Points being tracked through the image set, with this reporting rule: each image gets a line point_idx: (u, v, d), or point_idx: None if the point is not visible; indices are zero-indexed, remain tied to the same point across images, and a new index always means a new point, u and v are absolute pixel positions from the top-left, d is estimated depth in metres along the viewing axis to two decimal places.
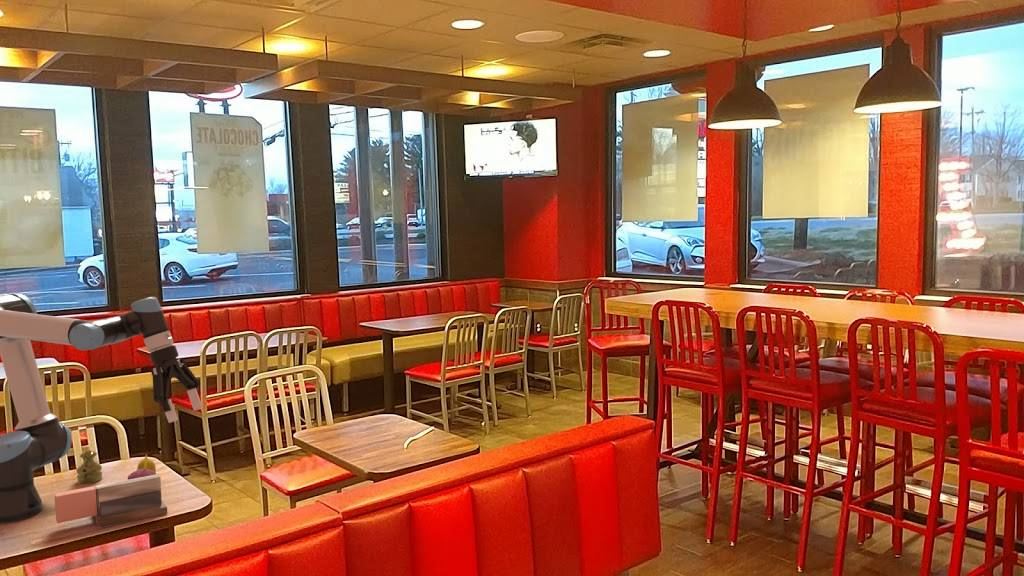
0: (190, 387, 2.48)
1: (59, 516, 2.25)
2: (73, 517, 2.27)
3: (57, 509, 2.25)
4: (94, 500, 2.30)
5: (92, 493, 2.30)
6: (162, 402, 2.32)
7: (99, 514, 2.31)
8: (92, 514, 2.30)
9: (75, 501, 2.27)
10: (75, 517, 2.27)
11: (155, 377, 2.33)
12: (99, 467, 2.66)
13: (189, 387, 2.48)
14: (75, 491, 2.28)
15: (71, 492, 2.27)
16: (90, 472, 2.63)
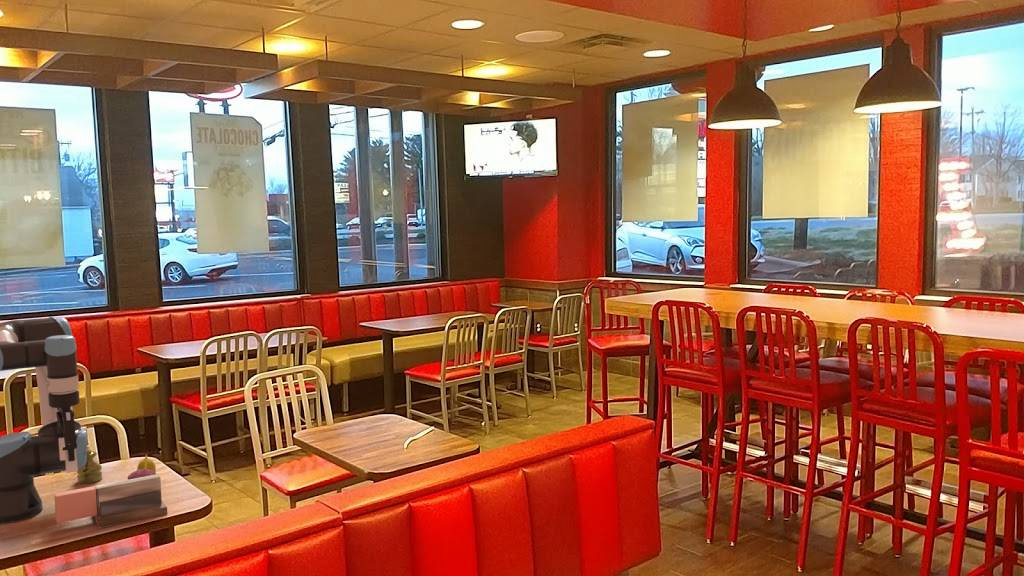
0: None
1: (59, 516, 2.25)
2: (73, 517, 2.27)
3: (57, 509, 2.25)
4: (94, 500, 2.30)
5: (92, 493, 2.30)
6: None
7: (99, 514, 2.31)
8: (92, 514, 2.30)
9: (75, 501, 2.27)
10: (75, 517, 2.27)
11: None
12: (99, 467, 2.66)
13: None
14: (75, 491, 2.28)
15: (71, 492, 2.27)
16: (90, 472, 2.63)
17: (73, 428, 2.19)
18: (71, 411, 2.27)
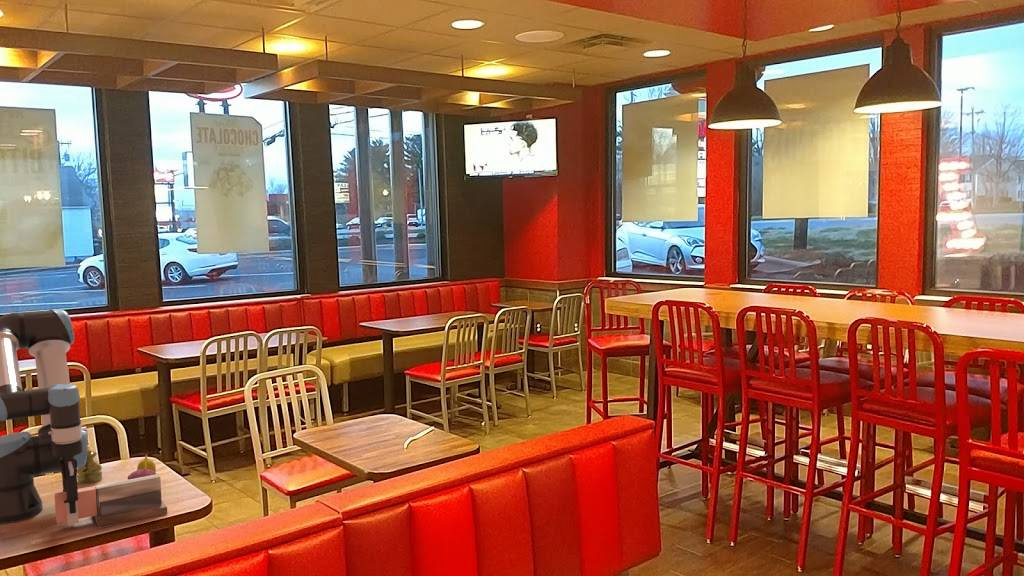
0: None
1: (59, 516, 2.25)
2: None
3: (57, 509, 2.25)
4: (94, 500, 2.30)
5: (92, 493, 2.30)
6: None
7: (99, 514, 2.31)
8: (92, 514, 2.30)
9: None
10: None
11: None
12: (99, 467, 2.66)
13: None
14: None
15: None
16: (90, 472, 2.63)
17: (75, 483, 2.23)
18: (74, 458, 2.28)
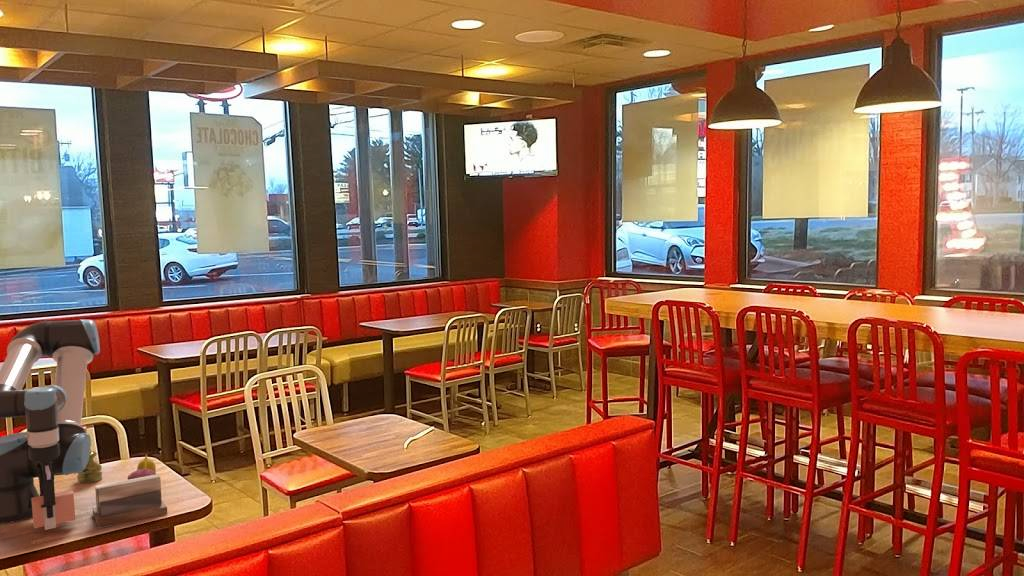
0: None
1: (36, 521, 2.22)
2: None
3: (34, 514, 2.21)
4: (72, 504, 2.27)
5: (70, 497, 2.26)
6: None
7: (99, 514, 2.31)
8: (70, 519, 2.27)
9: None
10: None
11: None
12: (99, 467, 2.66)
13: None
14: None
15: None
16: (90, 472, 2.63)
17: (53, 487, 2.20)
18: (51, 462, 2.25)
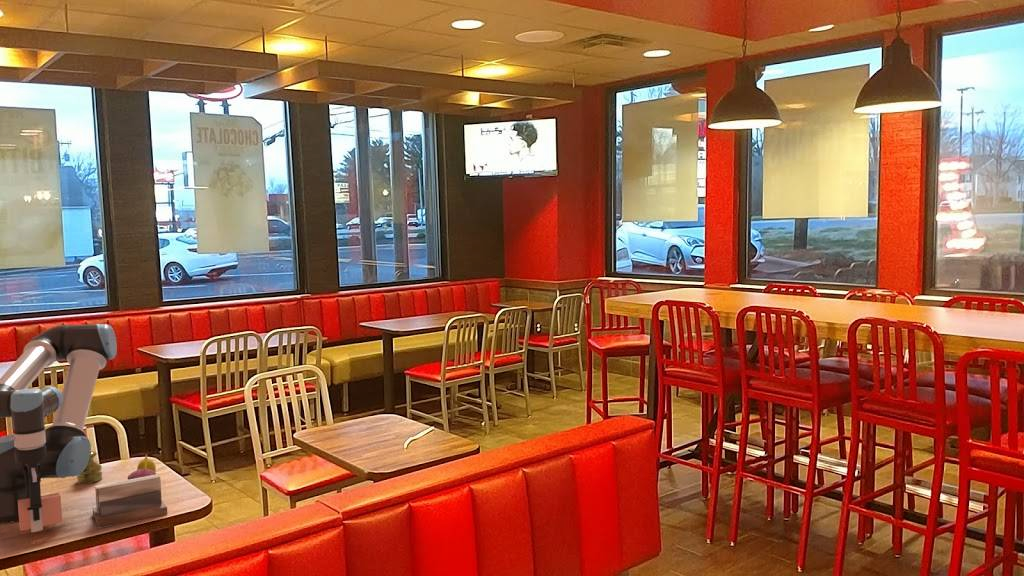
0: None
1: (22, 523, 2.20)
2: None
3: (20, 516, 2.20)
4: (59, 507, 2.25)
5: (57, 499, 2.25)
6: None
7: (99, 514, 2.31)
8: (57, 521, 2.25)
9: None
10: None
11: None
12: (99, 467, 2.66)
13: None
14: None
15: None
16: (90, 472, 2.63)
17: (39, 490, 2.18)
18: (38, 465, 2.23)
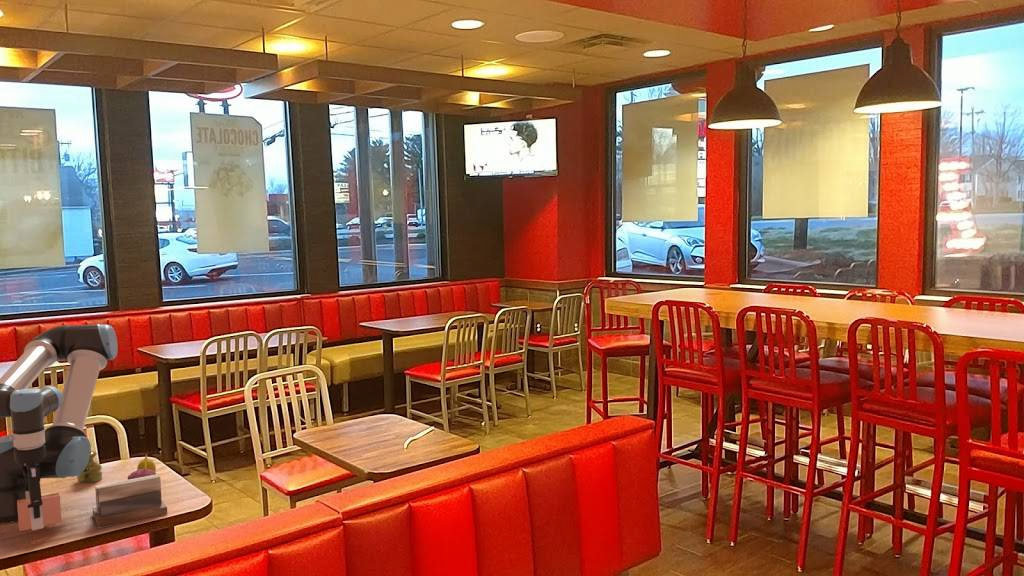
0: None
1: (22, 524, 2.20)
2: None
3: (19, 516, 2.20)
4: (58, 507, 2.25)
5: (57, 499, 2.24)
6: None
7: (99, 514, 2.31)
8: (56, 521, 2.25)
9: None
10: None
11: None
12: (99, 467, 2.66)
13: None
14: None
15: None
16: (90, 472, 2.63)
17: (38, 485, 2.16)
18: (37, 465, 2.23)
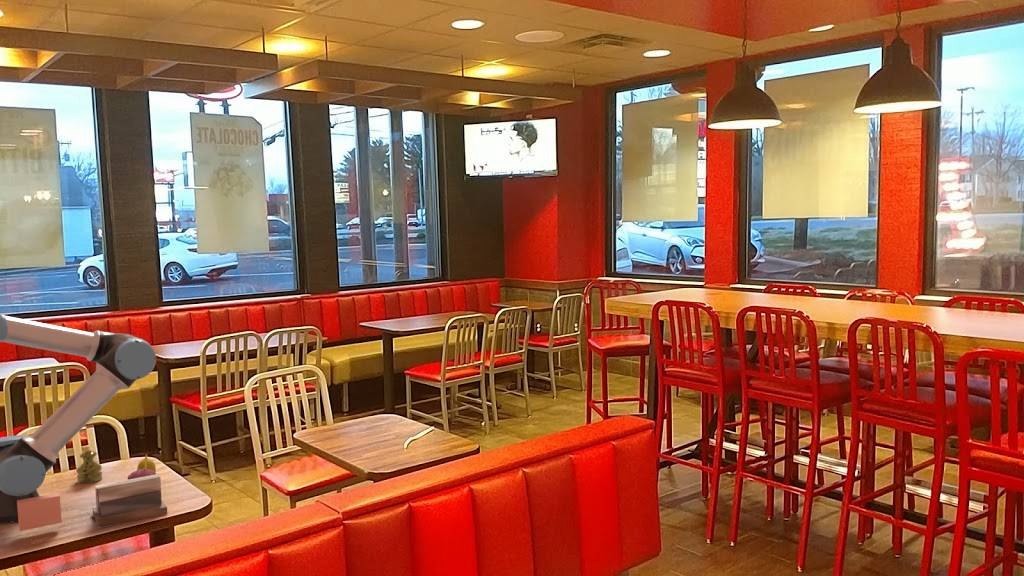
0: None
1: (22, 524, 2.20)
2: (36, 525, 2.22)
3: (19, 516, 2.20)
4: (58, 507, 2.25)
5: (57, 499, 2.24)
6: None
7: (99, 514, 2.31)
8: (56, 521, 2.25)
9: (38, 508, 2.22)
10: (38, 525, 2.22)
11: None
12: (99, 467, 2.66)
13: None
14: (38, 498, 2.23)
15: (34, 499, 2.22)
16: (90, 472, 2.63)
17: None
18: None
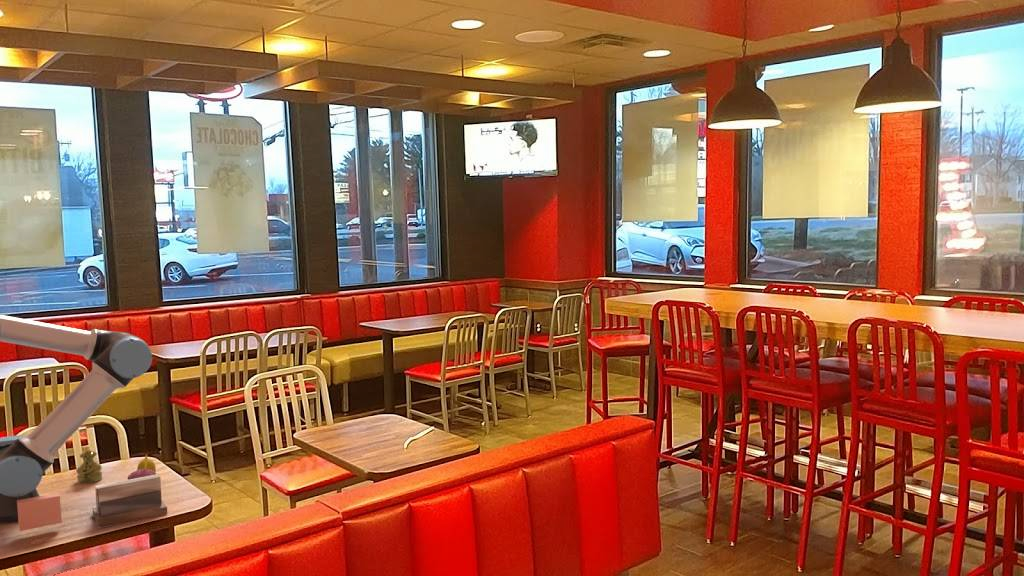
0: None
1: (22, 524, 2.20)
2: (36, 525, 2.22)
3: (19, 516, 2.20)
4: (58, 507, 2.25)
5: (57, 499, 2.24)
6: None
7: (99, 514, 2.31)
8: (56, 521, 2.25)
9: (38, 508, 2.22)
10: (38, 525, 2.22)
11: None
12: (99, 467, 2.66)
13: None
14: (38, 498, 2.23)
15: (34, 499, 2.22)
16: (90, 472, 2.63)
17: None
18: None
